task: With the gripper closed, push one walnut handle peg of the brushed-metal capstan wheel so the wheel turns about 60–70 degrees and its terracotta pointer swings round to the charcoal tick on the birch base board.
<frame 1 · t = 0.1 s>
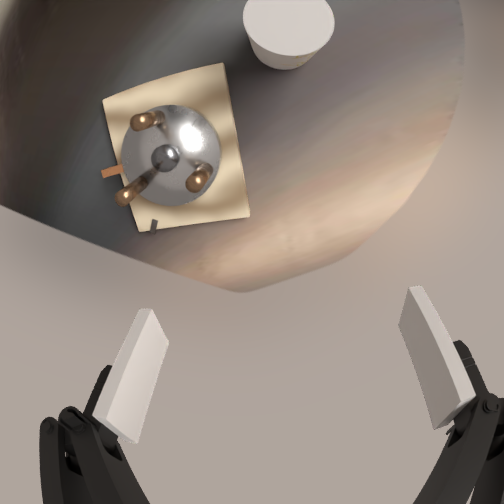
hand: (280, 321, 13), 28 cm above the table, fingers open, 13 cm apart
cup: (283, 42, 27), on the table
base board: (175, 151, 36), on the table
capstan wheel: (146, 164, 31), point 6 cm above the table, hinge at 0.0°
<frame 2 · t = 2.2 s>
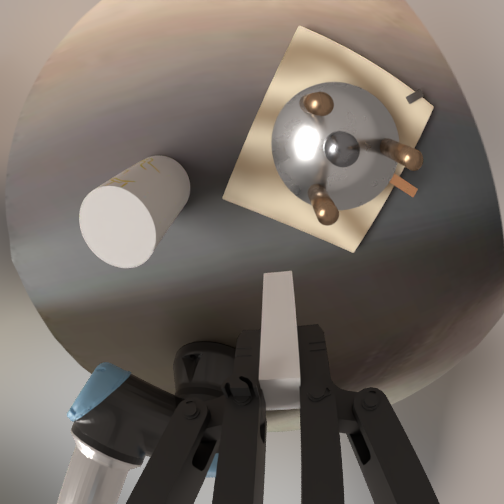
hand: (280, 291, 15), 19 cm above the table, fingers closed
cup: (159, 186, 32), on the table
base board: (332, 142, 29), on the table
capstan wheel: (363, 161, 24), point 6 cm above the table, hinge at 0.0°
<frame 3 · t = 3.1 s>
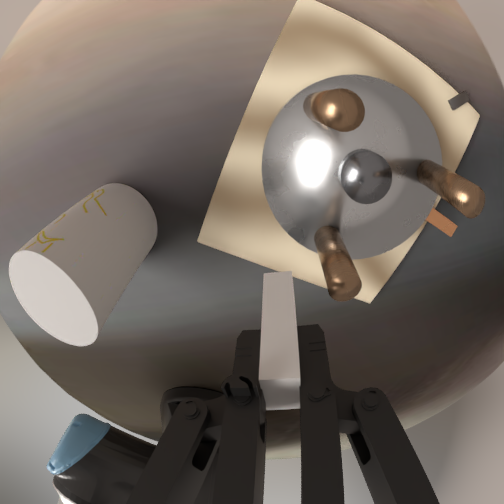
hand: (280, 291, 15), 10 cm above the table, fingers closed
cup: (120, 222, 24), on the table
base board: (348, 162, 20), on the table
capstan wheel: (397, 197, 16), point 6 cm above the table, hinge at 0.0°
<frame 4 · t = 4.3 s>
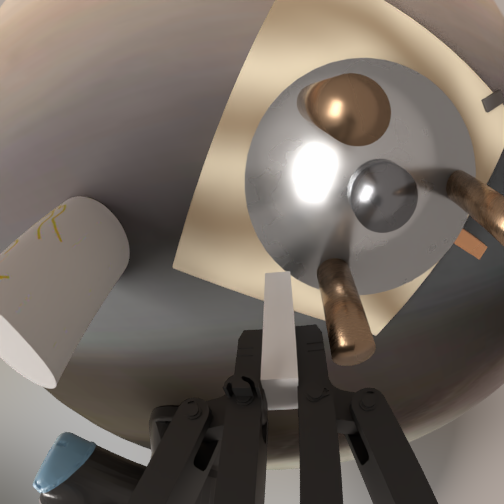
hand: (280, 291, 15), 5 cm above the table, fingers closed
cup: (90, 239, 20), on the table
base board: (359, 172, 16), on the table
capstan wheel: (424, 224, 11), point 6 cm above the table, hinge at 2.8°, touching gripper
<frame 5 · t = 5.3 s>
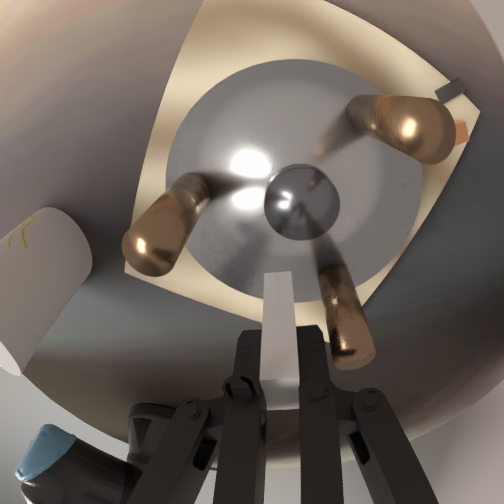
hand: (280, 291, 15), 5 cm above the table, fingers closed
cup: (60, 245, 21), on the table
base board: (294, 177, 17), on the table
capstan wheel: (348, 197, 11), point 6 cm above the table, hinge at 49.1°, touching gripper
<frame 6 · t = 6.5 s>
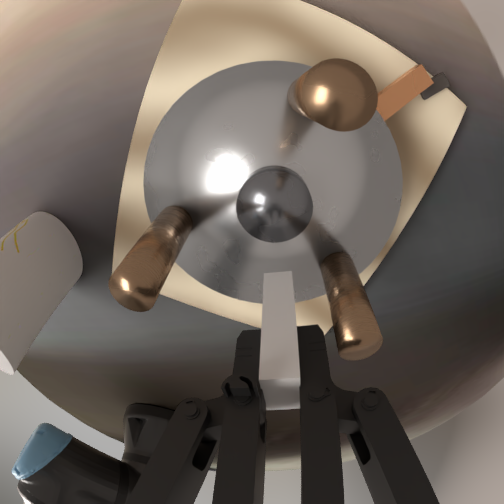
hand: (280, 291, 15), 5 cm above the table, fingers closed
cup: (52, 248, 21), on the table
base board: (273, 179, 17), on the table
capstan wheel: (311, 186, 11), point 6 cm above the table, hinge at 65.9°
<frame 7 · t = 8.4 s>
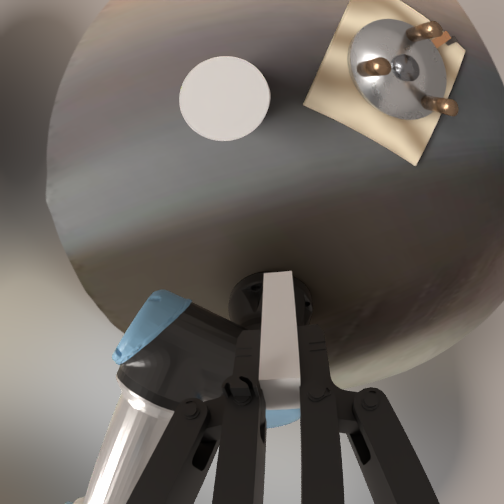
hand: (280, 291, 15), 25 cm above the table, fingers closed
cup: (239, 96, 32), on the table
base board: (392, 69, 27), on the table
capstan wheel: (421, 59, 21), point 6 cm above the table, hinge at 65.9°
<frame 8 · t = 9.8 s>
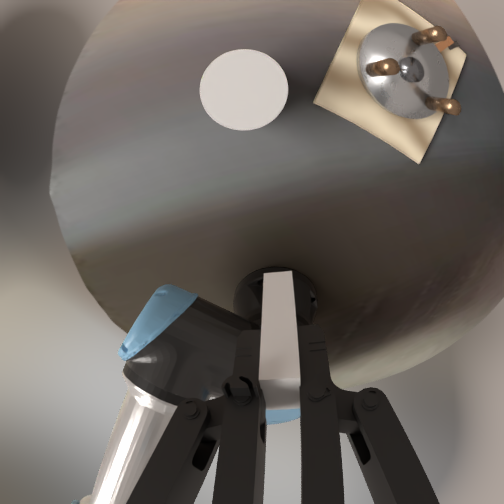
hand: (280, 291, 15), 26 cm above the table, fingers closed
cup: (251, 92, 32), on the table
base board: (397, 71, 28), on the table
capstan wheel: (425, 62, 22), point 6 cm above the table, hinge at 65.9°
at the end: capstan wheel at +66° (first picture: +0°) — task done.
